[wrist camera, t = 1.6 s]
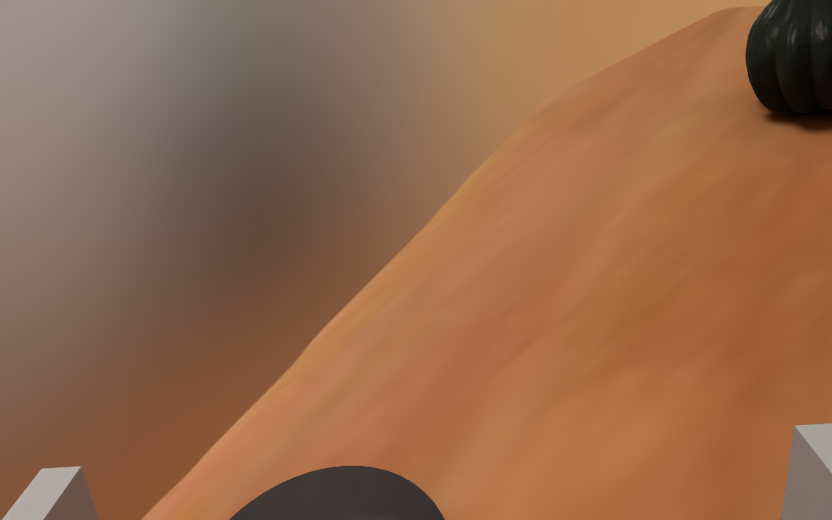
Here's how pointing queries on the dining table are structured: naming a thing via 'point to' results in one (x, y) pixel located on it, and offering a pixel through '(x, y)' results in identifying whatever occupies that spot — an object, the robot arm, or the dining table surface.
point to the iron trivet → (343, 497)
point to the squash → (792, 55)
